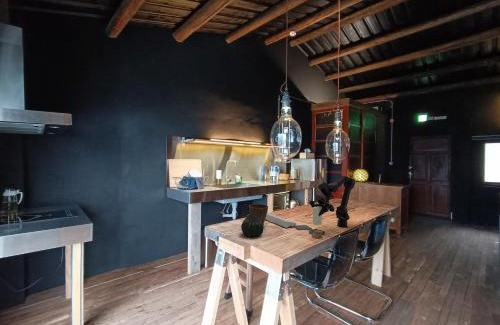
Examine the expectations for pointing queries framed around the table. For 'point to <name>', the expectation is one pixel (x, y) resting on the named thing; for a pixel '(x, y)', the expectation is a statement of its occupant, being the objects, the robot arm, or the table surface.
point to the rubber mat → (302, 227)
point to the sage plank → (317, 219)
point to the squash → (252, 226)
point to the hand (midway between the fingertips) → (316, 215)
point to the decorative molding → (279, 221)
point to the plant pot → (259, 211)
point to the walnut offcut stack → (317, 234)
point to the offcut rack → (316, 229)
